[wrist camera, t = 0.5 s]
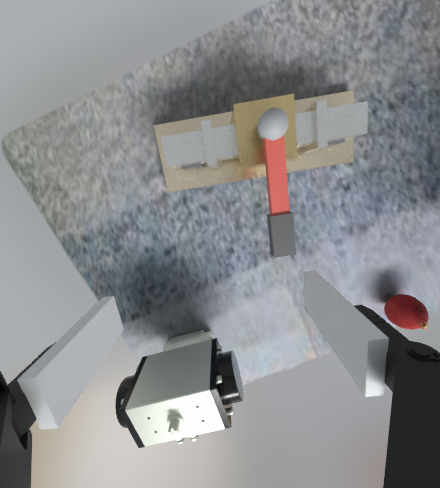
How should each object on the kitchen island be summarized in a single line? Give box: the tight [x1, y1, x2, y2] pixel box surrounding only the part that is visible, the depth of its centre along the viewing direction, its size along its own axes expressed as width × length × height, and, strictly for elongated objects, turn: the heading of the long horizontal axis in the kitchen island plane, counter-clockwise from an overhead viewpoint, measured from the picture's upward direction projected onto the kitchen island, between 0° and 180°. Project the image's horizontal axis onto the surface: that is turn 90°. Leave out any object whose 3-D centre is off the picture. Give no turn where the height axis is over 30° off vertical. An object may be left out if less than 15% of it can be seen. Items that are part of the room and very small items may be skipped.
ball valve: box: [116, 330, 243, 448], centre depth 36 cm, size 18×8×18 cm, turn 107°
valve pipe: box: [154, 90, 368, 192], centre depth 30 cm, size 30×10×11 cm, turn 99°
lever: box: [257, 107, 296, 257], centre depth 25 cm, size 16×3×2 cm, turn 9°
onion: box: [384, 294, 428, 329], centre depth 39 cm, size 6×6×8 cm
